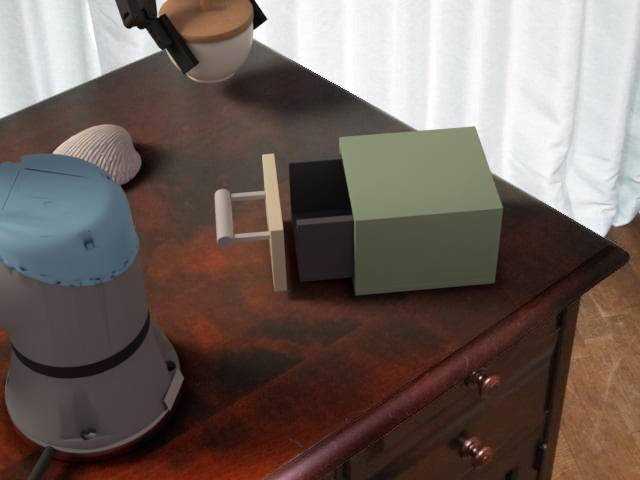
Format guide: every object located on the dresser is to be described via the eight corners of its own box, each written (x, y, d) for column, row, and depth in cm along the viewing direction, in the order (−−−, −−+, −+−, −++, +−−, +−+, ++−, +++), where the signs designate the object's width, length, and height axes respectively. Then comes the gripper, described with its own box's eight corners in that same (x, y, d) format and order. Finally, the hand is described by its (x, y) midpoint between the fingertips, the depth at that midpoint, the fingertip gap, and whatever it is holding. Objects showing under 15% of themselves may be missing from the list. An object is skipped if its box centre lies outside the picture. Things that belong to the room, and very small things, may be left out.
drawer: (222, 296, 109) (215, 235, 104) (217, 218, 118) (211, 158, 112) (404, 280, 110) (406, 219, 105) (386, 204, 119) (388, 143, 114)
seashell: (162, 135, 125) (94, 165, 117) (159, 178, 128) (93, 211, 120) (95, 101, 129) (26, 129, 122) (94, 144, 132) (27, 173, 125)
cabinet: (355, 295, 110) (355, 220, 104) (340, 210, 120) (339, 137, 113) (494, 283, 111) (503, 208, 105) (469, 199, 120) (475, 125, 114)
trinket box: (254, 94, 130) (249, 22, 124) (160, 95, 131) (150, 23, 124) (259, 43, 138) (255, -27, 132) (171, 44, 139) (162, -26, 132)
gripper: (44, -99, 118) (168, 80, 121) (200, -172, 131) (309, -9, 134) (20, -66, 124) (139, 104, 127) (171, -139, 137) (276, 17, 140)
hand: (226, 46), depth 130 cm, fingers closed on trinket box, 11 cm apart
